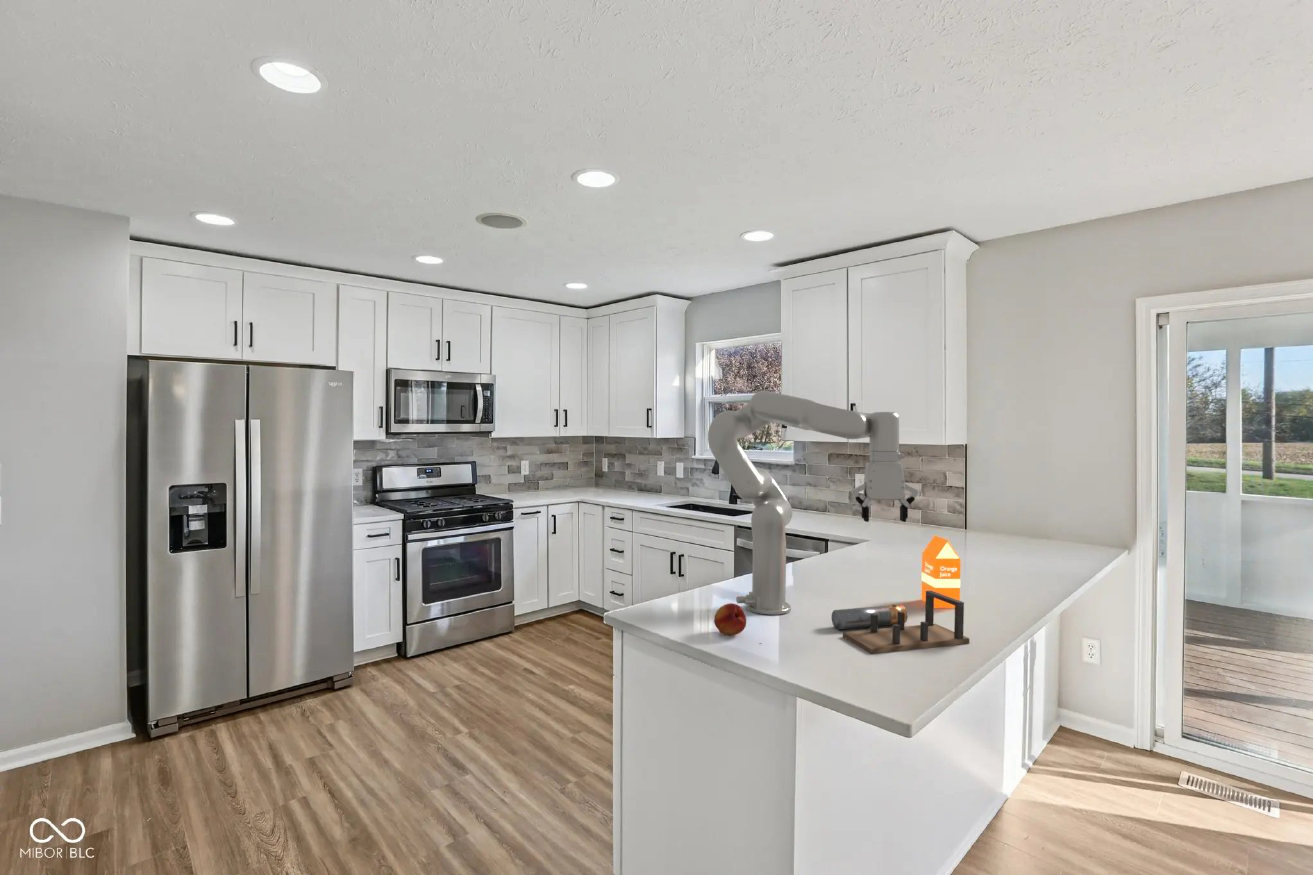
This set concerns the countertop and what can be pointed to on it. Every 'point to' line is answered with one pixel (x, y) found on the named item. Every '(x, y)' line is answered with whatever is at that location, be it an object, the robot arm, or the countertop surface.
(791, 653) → the countertop surface
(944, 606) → the orange juice
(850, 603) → the countertop surface
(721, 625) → the fruit
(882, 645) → the board
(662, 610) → the countertop surface
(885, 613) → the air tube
